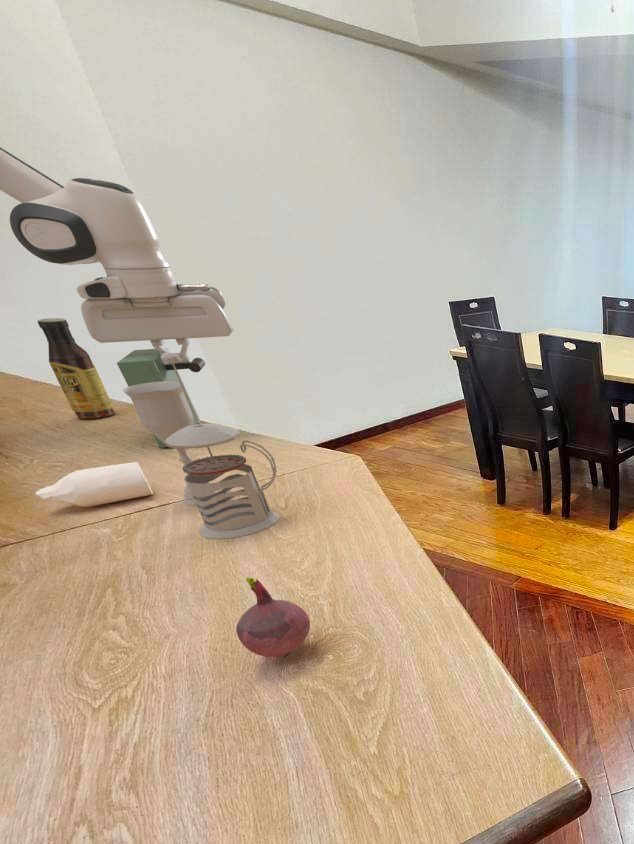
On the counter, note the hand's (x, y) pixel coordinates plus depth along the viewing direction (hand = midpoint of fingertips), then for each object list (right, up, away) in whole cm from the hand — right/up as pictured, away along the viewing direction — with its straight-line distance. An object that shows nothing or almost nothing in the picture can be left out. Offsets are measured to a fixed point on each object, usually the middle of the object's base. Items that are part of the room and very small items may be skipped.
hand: (179, 363), depth 113 cm
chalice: (+21, -28, -18) cm, 39 cm away
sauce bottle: (-32, -7, +15) cm, 36 cm away
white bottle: (+7, -29, -21) cm, 36 cm away
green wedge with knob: (-6, -7, 0) cm, 9 cm away
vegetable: (+59, -48, -50) cm, 91 cm away
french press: (+33, -32, -24) cm, 52 cm away
